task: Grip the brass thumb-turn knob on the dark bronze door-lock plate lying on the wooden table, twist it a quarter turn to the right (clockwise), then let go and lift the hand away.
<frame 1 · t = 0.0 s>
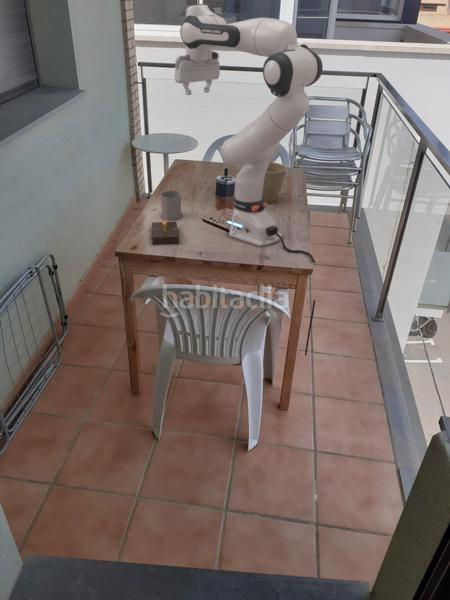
hand: (197, 93, 186), 48 cm above the table, tool pointing down, fingers open, 8 cm apart
plant pot: (267, 200, 222), on the table
lock plate: (165, 236, 187), on the table
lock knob: (164, 225, 185), point 5 cm above the table, hinge at 0.0°
cup: (171, 216, 204), on the table
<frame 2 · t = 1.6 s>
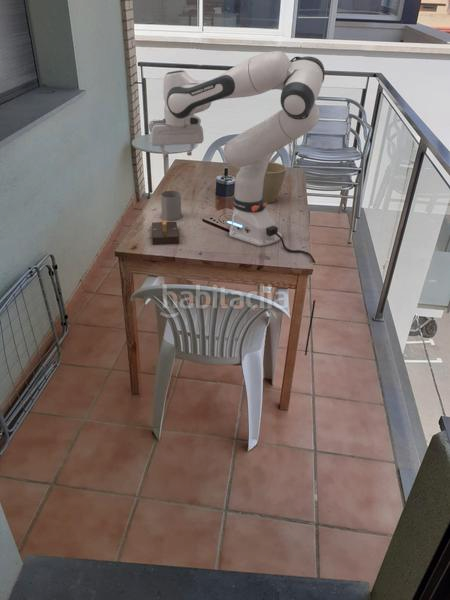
hand: (177, 155, 182), 28 cm above the table, tool pointing down, fingers open, 8 cm apart
nothing on the table moved.
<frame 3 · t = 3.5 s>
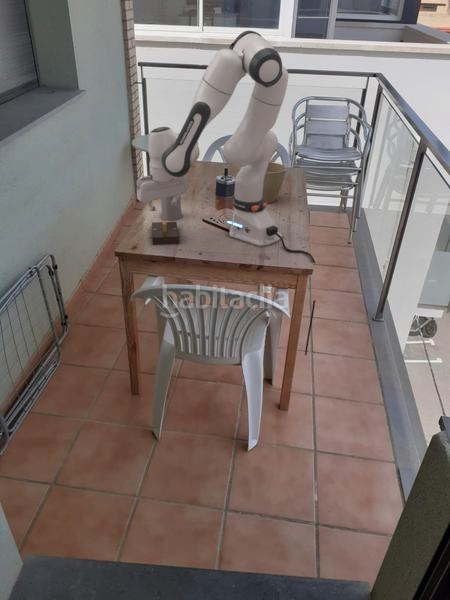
hand: (163, 208, 181), 12 cm above the table, tool pointing down, fingers open, 8 cm apart
nothing on the table moved.
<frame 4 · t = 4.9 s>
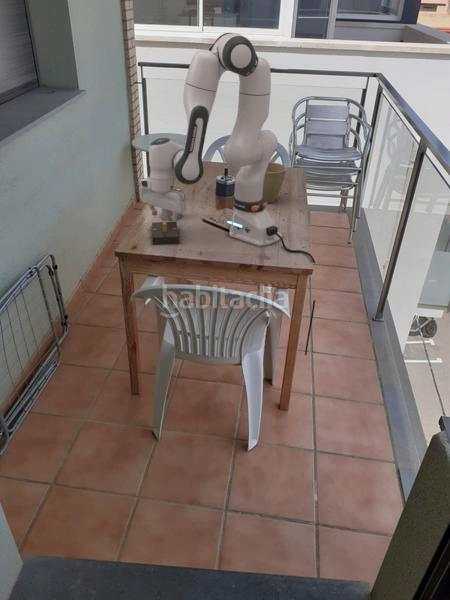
hand: (163, 218, 183), 8 cm above the table, tool pointing down, fingers open, 8 cm apart
nothing on the table moved.
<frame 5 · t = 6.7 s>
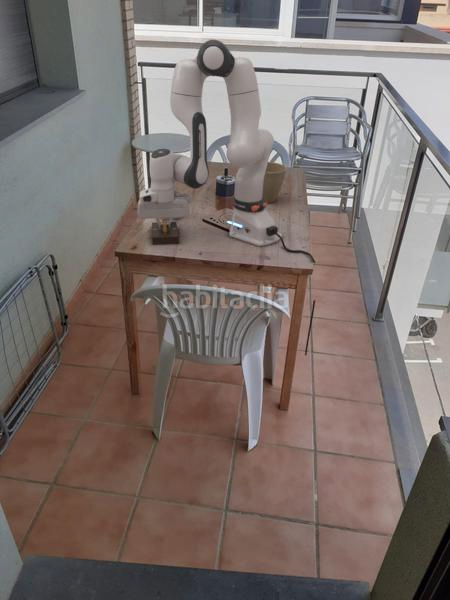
hand: (164, 227, 185), 4 cm above the table, tool pointing down, fingers closed on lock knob
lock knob: (164, 225, 185), point 5 cm above the table, hinge at 0.2°, touching gripper
everything else where it was.
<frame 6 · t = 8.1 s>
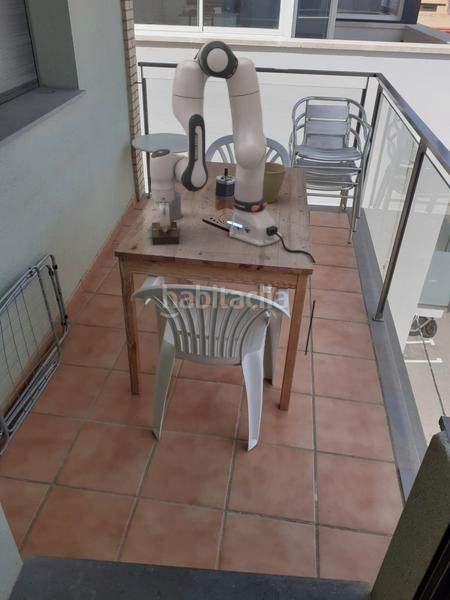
hand: (164, 227, 185), 4 cm above the table, tool pointing down, fingers open, 5 cm apart
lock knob: (164, 225, 185), point 5 cm above the table, hinge at -87.9°
everything else where it was.
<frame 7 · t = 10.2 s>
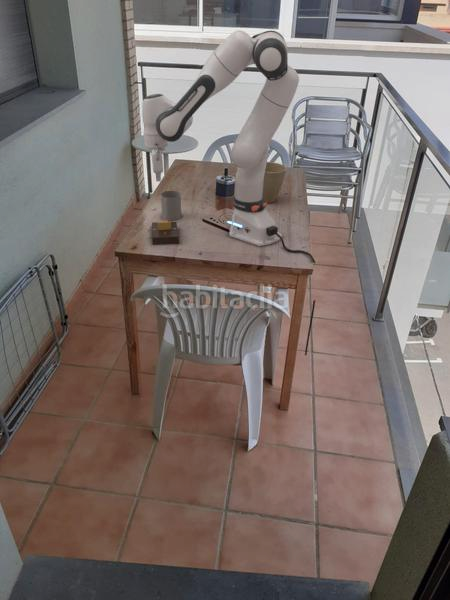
hand: (158, 176, 184), 21 cm above the table, tool pointing down, fingers open, 8 cm apart
nothing on the table moved.
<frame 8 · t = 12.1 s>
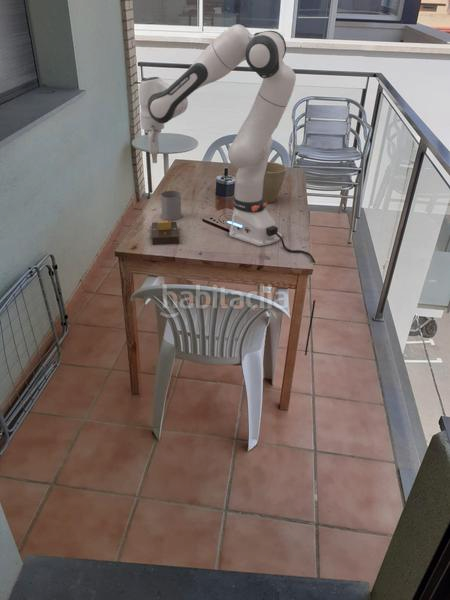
hand: (154, 158, 189), 25 cm above the table, tool pointing down, fingers open, 8 cm apart
nothing on the table moved.
at the end: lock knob at -88° (first picture: +0°); the gripper is holding nothing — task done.
